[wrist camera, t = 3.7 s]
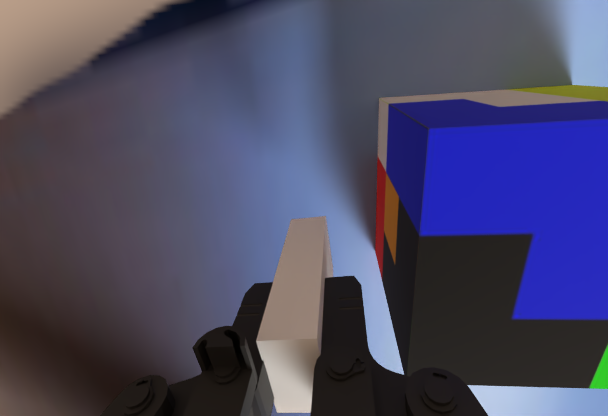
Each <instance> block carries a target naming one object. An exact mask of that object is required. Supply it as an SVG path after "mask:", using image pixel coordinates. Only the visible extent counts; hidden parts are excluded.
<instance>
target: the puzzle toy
mask: <svg viewBox="0 0 608 416" xmlns="http://www.w3.org/2000/svg"><path fill="white" fill-rule="evenodd" d="M375 252H376V256H377V260H378V265H379V269H380V273H381V277H382V282H383V286H384V290H385V294H386V299H387V303H388V307H389V311H390V316H391V320H392V324H393V328H394V333H395V337H396V341H397V346H398V350H399V354H400V358H401V363H402V367H403V371H404V375H406V376H409V377H410V376H411V375H412V373H413V372H415V371H418V370H420V369H422V368H431V367H436V368H440V369H443V370H447V371H449V372H451V373H453V374H454V375H456V376H458V377H459V378H460V379H461V380H462V381H463V382H464V383H465V384H466V385H486V386H523V387H560V388H597V389H608V87H595V86H580V85H565V86H550V87H535V88H520V89H505V90H490V91H475V92H460V93H445V94H430V95H415V96H400V97H385V98H379V121H378V162H377V203H376V245H375Z"/></svg>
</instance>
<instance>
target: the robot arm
mask: <svg viewBox="0 0 608 416" xmlns="http://www.w3.org/2000/svg"><path fill="white" fill-rule="evenodd" d="M193 350H194V353H195V355H196V358H197V360H198V363H199V365H200V367H201V370H202V373H201V374H200V375H198V376H196V377H193V378H191V379H188V380H185V381H182V382H178V383H175V384H172V385H169V386H168V384H167V382H166V380H165V379H164V378H162V377H161V376H156V375H150V376H147V377H143V378H140V379H138V380H137V381H135V382H133V383H132V384H130V385H128V386H127V387H126V388H125V389H124V390H123V391H122V392H121V393H120V394H119V395H118V396H117V397H116V398H115V399H114V401H113V402H112V403H111V404H110V405H109V406H108V407H107V408H106V410H105V411H104V412H103V413H102V414H101V415H100V416H271V413H272V407H273V402H274V404H275V407H276V410H277V413H311V416H488V415H487V413H486V412H485V410H484V409H483V407H482V406H481V404H480V403H479V402H478V400H477V399H476V397H475V396H474V394H473V393H472V391H471V390H470V388H469V387H468V386H467V385H466V384H465V383H464V382H463V381H462V380H461V379H460V378H459V377H458V376H456V375H454V374H453V373H451V372H449V371H447V370H443V369H440V368H436V367H431V368H422V369H420V370H418V371H415V372H413V373H412V375H411V376H410V377H409V376H406V375H402V374H398V373H395V372H392V371H390V370H387V369H385V368H384V367H382V366H381V365H379V364H378V363H377V362H376V361H375V360H374V359H373V357H372V355H371V354H370V352H369V348H368V343H367V334H366V325H365V316H364V307H363V298H362V289H361V284H360V283H359V282H358V281H357V279H356V278H355V277H354V276H343V277H333V265H332V258H331V251H330V244H329V236H328V229H327V222H326V216H322V217H312V218H301V219H291V222H290V226H289V229H288V233H287V236H286V239H285V243H284V246H283V250H282V253H281V257H280V260H279V264H278V267H277V271H276V274H275V277H274V281H273V282H270V283H255V284H254V285H253V286H252V287H251V288H250V289H249V290H248V291H247V292H246V293H245V296H244V298H243V301H242V303H241V307H240V308H239V311H238V313H237V316H236V318H235V321H234V323H233V326H223V327H218V328H215V329H213V330H211V331H209V332H207V333H206V334H205V335H203V336H202V337H201V338H200V339H198V341H197V342H196V344H195V345H194V346H193Z"/></svg>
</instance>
